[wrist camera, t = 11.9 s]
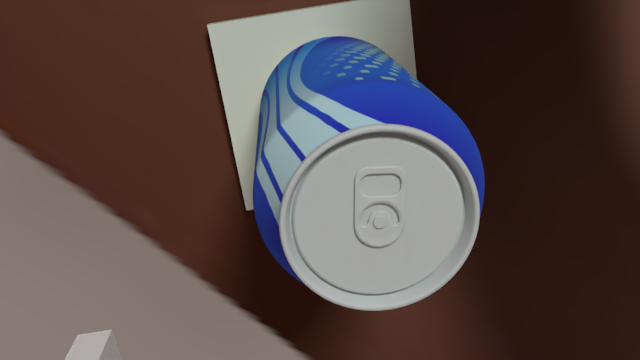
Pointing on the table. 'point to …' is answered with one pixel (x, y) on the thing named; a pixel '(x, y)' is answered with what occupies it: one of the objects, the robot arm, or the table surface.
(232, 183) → the table surface
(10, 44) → the table surface
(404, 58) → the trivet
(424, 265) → the beer can
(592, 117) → the table surface
